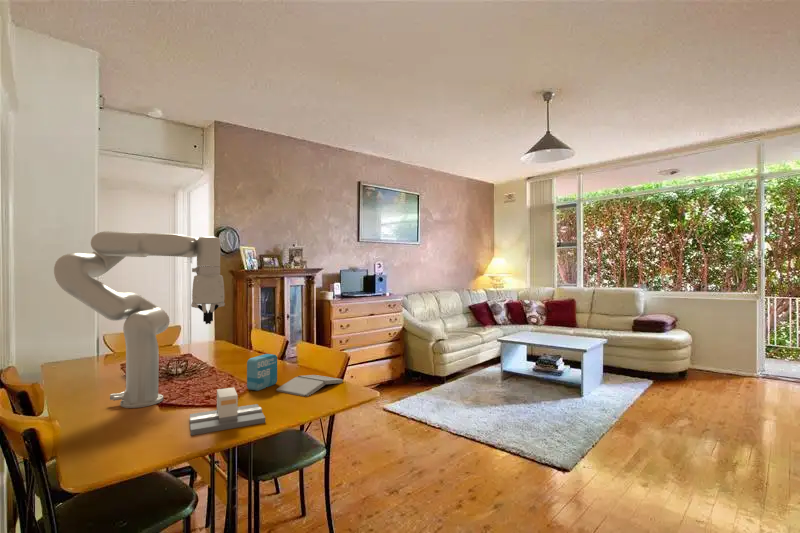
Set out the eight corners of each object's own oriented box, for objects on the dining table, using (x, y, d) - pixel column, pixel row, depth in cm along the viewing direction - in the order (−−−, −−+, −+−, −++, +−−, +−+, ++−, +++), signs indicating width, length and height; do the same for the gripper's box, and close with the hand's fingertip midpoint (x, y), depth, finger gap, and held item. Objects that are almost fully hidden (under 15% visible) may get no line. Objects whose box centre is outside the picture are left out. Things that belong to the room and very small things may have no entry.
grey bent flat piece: (305, 398, 147) (305, 388, 147) (275, 392, 154) (275, 383, 154) (343, 383, 167) (343, 374, 167) (314, 378, 174) (314, 370, 174)
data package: (255, 391, 153) (255, 360, 153) (246, 390, 155) (246, 358, 155) (277, 383, 164) (277, 354, 164) (268, 382, 166) (268, 353, 166)
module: (219, 422, 118) (219, 397, 118) (216, 412, 127) (216, 389, 127) (237, 419, 121) (237, 395, 121) (233, 409, 129) (234, 387, 129)
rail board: (190, 435, 113) (190, 427, 113) (189, 418, 125) (189, 411, 125) (265, 422, 122) (265, 414, 122) (257, 408, 135) (257, 401, 135)
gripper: (184, 271, 136) (184, 326, 136) (232, 271, 143) (232, 323, 143) (184, 271, 143) (184, 323, 143) (230, 271, 150) (229, 321, 150)
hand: (208, 323), depth 143 cm, fingers closed
